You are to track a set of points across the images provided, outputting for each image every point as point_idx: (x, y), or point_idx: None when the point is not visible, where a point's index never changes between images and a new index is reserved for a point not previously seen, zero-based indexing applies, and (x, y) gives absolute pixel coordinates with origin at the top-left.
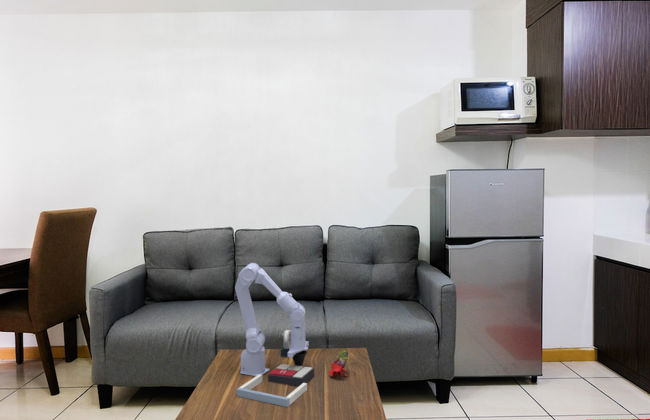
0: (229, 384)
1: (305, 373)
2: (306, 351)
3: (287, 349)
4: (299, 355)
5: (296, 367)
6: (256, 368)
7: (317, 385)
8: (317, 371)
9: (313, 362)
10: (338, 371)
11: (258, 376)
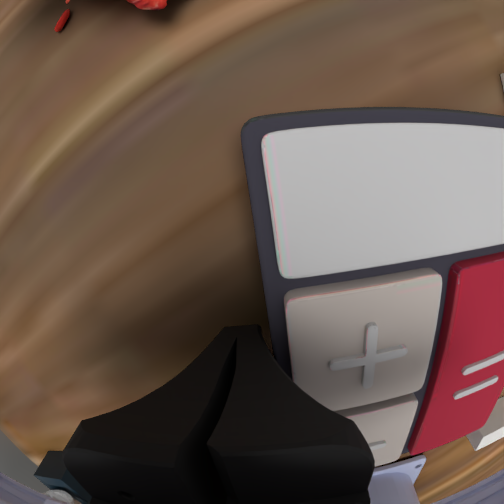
0: (491, 457)
1: (478, 130)
2: (88, 452)
3: (81, 498)
4: (373, 465)
5: (377, 342)
6: (417, 499)
7: (406, 19)
8: (122, 183)
9: (26, 322)
10: (64, 19)
11: (500, 431)
